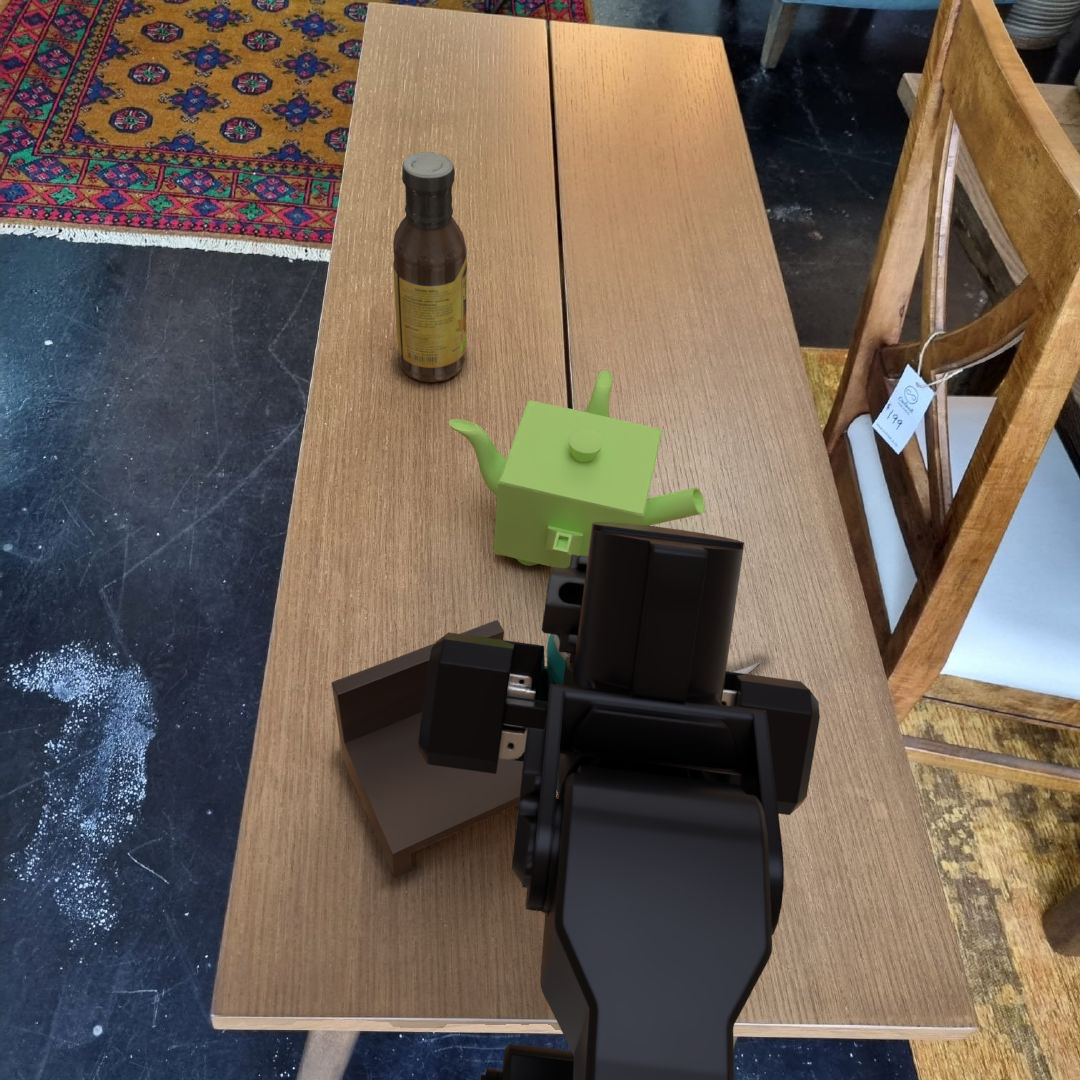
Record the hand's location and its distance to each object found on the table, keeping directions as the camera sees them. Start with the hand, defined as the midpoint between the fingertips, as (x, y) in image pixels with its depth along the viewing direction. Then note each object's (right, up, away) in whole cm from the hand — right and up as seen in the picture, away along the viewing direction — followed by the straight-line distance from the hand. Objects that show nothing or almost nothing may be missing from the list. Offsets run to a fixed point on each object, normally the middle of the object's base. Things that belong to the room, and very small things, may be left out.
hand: (608, 683), depth 57 cm
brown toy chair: (-10, -8, +10) cm, 16 cm away
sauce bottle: (-14, +25, +36) cm, 46 cm away
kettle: (-2, +9, +25) cm, 26 cm away
